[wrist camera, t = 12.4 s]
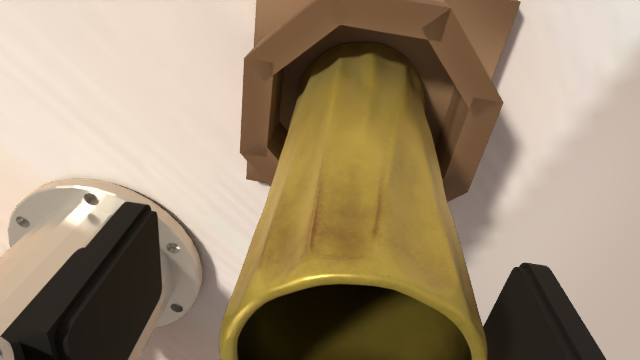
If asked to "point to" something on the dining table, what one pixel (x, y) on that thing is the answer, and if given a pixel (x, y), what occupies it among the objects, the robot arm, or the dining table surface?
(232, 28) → the dining table surface
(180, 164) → the dining table surface
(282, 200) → the vase
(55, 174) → the dining table surface
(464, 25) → the collar
